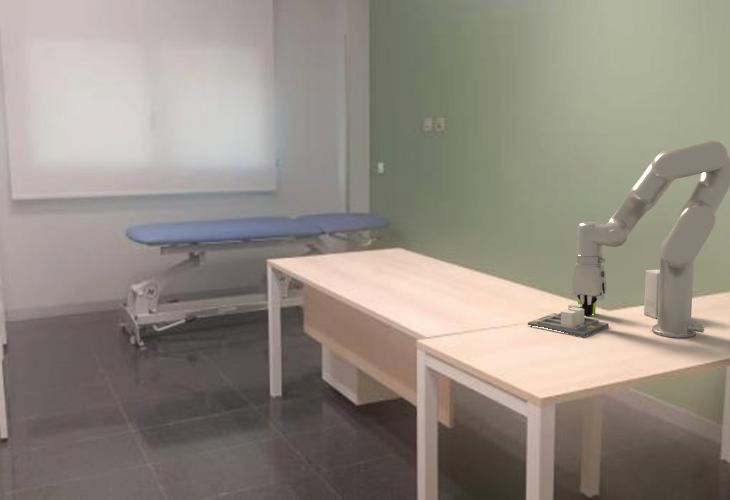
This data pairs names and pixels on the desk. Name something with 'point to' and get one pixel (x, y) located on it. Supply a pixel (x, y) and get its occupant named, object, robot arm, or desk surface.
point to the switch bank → (581, 330)
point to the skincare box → (651, 293)
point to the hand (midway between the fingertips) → (587, 315)
